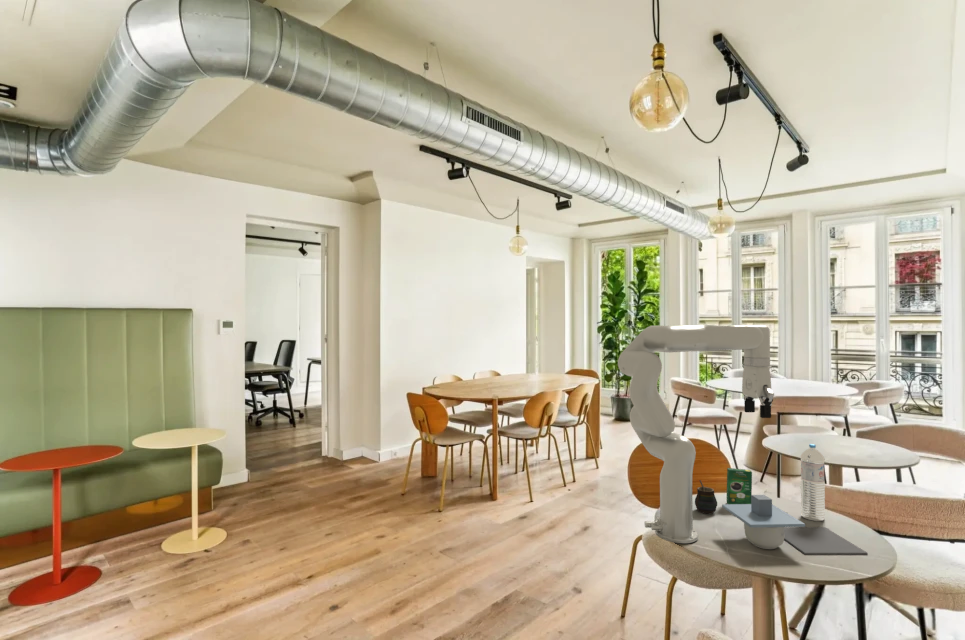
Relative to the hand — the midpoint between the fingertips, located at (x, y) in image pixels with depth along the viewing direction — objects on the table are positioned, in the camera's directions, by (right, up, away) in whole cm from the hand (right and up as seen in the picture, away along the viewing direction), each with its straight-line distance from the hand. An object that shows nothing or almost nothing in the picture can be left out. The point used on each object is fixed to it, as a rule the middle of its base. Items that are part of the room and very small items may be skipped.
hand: (757, 414), depth 165 cm
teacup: (-6, -37, -13) cm, 39 cm away
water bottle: (+22, -37, +6) cm, 43 cm away
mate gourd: (-12, -37, +12) cm, 40 cm away
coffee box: (+3, -37, +18) cm, 41 cm away
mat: (+11, -36, -12) cm, 40 cm away
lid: (-6, -28, -13) cm, 32 cm away
